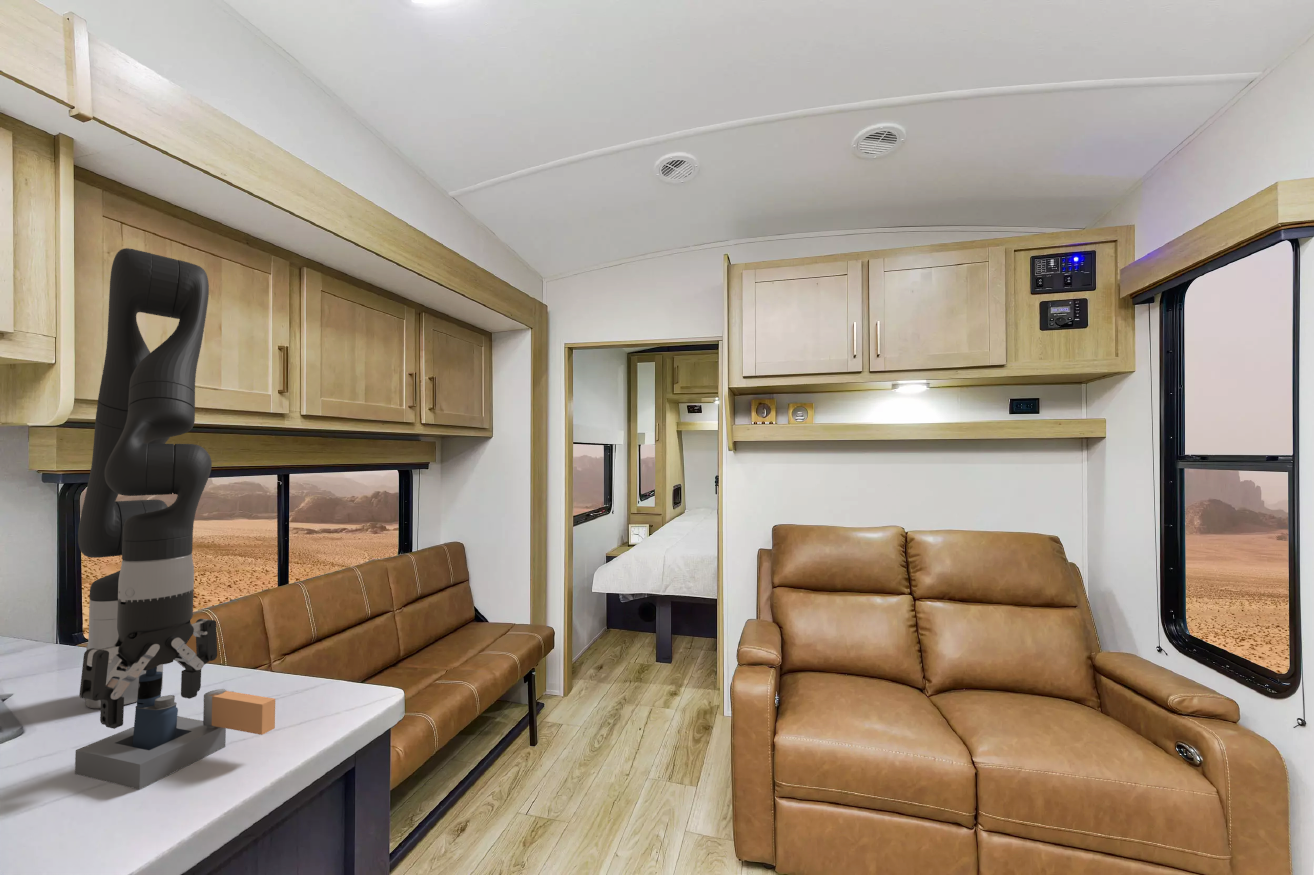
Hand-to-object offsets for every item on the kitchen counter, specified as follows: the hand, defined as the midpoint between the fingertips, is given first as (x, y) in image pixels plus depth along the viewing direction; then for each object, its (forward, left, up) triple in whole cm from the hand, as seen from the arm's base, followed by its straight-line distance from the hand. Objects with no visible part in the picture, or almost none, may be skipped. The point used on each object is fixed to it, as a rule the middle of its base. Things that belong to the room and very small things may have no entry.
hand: (153, 711), depth 72 cm
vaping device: (0, 0, -7) cm, 7 cm away
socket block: (0, 0, -6) cm, 6 cm away
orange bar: (+9, +4, -3) cm, 11 cm away
